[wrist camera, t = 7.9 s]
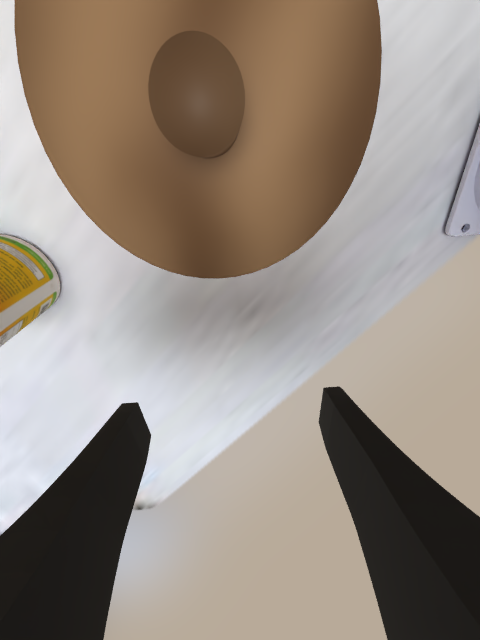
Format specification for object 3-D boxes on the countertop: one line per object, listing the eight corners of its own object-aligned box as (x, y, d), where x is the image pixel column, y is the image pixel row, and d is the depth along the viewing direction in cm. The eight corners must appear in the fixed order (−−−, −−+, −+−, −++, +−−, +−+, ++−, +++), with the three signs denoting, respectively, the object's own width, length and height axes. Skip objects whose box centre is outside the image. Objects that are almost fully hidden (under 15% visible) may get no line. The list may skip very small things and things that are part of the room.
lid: (418, -180, 7) (601, -513, 3) (338, 267, 13) (375, 301, 10) (-54, -171, 6) (-342, -511, 3) (99, 277, 13) (54, 316, 9)
